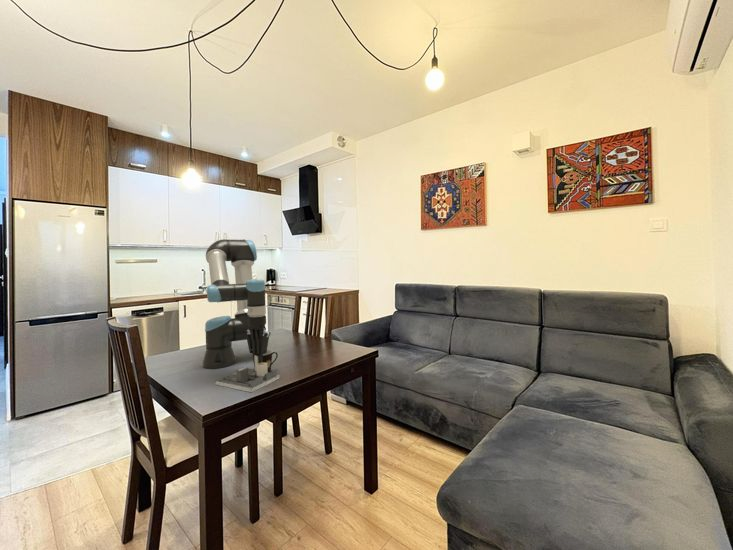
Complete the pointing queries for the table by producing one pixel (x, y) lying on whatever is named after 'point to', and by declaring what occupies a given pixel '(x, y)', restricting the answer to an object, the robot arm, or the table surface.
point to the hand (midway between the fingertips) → (258, 369)
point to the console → (249, 381)
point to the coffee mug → (268, 359)
